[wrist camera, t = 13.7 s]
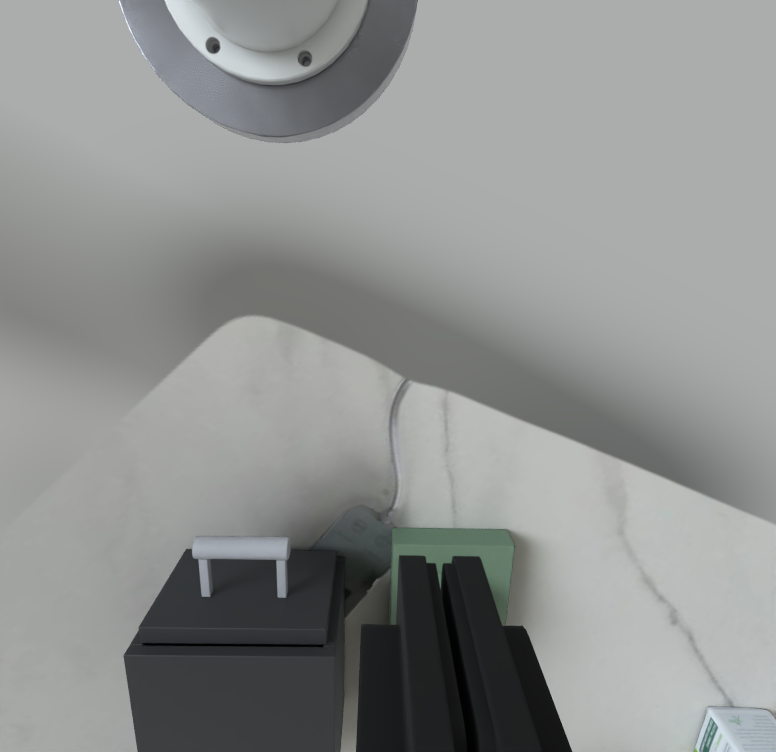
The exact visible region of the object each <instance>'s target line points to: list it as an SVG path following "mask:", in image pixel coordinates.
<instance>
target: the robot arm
mask: <svg viewBox="0 0 776 752" xmlns="http://www.w3.org/2000/svg"><path fill="white" fill-rule="evenodd" d="M368 1H369V0H165V2H166V5H167V8H168V10H169V11H170V13H171V15H172V17H173V18H174V20H175V22H176V24H177V25H178V27H179V29H180V30H181V31H182V33H183V34H184V35H185V36H186V37H187V39H188V40H189V41H190V42H191V44H192V45H193V46H194V47H195V48H196V49H197V50H198V51H199V52H200V53H201V54H202V55H203V56H204V57H205V58H206V59H207V60H209V61H210V62H211V63H213V64H214V65H216V66H217V67H218V68H220V69H221V70H223V71H224V72H226V73H228V74H230V75H232V76H235V77H237V78H239V79H241V80H244V81H248V82H252V83H256V84H260V85H285V84H291V83H296V82H300V81H303V80H305V79H307V78H310V77H312V76H314V75H317V74H318V73H320V72H321V71H322V70H324V69H325V68H327V67H328V66H330V65H331V64H332V63H334V62H335V60H336V59H337V58H338V57H339V56H340V55H341V54H342V53H343V52H344V51H345V50H346V49H347V47H348V46H349V44H350V43H351V41H352V40H353V38H354V36H355V35H356V33H357V32H358V30H359V27H360V25H361V22H362V20H363V17H364V15H365V12H366V10H367V5H368ZM218 46H219V47H220V51H219V52H218V53H216V54H215V53H214V48H215V47H218ZM305 59H309V60H310V61H311V63H310V65H309V66H304V65H303V61H304V60H305ZM356 752H572V750H571V747H570V745H569V742H568V739H567V737H566V734H565V731H564V729H563V726H562V723H561V721H560V718H559V715H558V713H557V710H556V707H555V705H554V702H553V699H552V697H551V694H550V691H549V689H548V686H547V683H546V681H545V678H544V675H543V673H542V670H541V667H540V665H539V662H538V659H537V657H536V654H535V652H534V649H533V646H532V644H531V641H530V638H529V636H528V634H527V631H526V629H525V628H524V627H523V626H502V623H501V620H500V617H499V614H498V611H497V607H496V604H495V601H494V598H493V595H492V592H491V589H490V585H489V582H488V579H487V576H486V573H485V570H484V567H483V563H482V560H481V558H480V557H479V556H453V557H452V562H451V563H443V566H442V577H441V589H440V584H439V578H438V572H437V567H436V563H427V562H426V557H425V556H419V555H399V563H398V586H397V610H396V625H369V624H362V625H361V647H360V671H359V695H358V720H357V744H356Z"/></svg>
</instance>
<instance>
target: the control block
mask: <svg viewBox="0 0 776 752" xmlns="http://www.w3.org/2000/svg"><path fill="white" fill-rule="evenodd" d="M514 547H515V546H514V544H513V542H512V539H511V537H510V535H509V533H508V530H507V529H443V528H392V552H391V578H390V605H389V625H396V610H397V586H398V563H399V555H419V556H425V557H426V562H427V563H436V567H437V572H438V578H439V584H440V589H441V577H442V566H443V563H451V562H452V557H453V556H479V557H480V558H481V560H482V563H483V567H484V570H485V573H486V576H487V579H488V582H489V585H490V589H491V592H492V595H493V598H494V601H495V604H496V607H497V611H498V614H499V617H500V620H501V623H502V626H505V624H506V615H507V607H508V598H509V590H510V581H511V573H512V564H513V555H514Z"/></svg>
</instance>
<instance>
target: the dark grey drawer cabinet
mask: <svg viewBox="0 0 776 752" xmlns="http://www.w3.org/2000/svg"><path fill="white" fill-rule="evenodd" d="M344 642H345V557H337V565H336V573H335V581H334V589H333V597H332V605H331V613H330V621H329V629H328V637H327V644H326V645H323V647H256V646H162V645H163V643H141V642H140V635H139V631H138V632H137V634H136V636H135V637H134V639H133V641H132V642H131V644H130V646H129V648H128V649H127V651H126V653H125V654H124V661H125V668H126V675H127V682H128V689H129V695H130V702H131V709H132V716H133V723H134V729H135V736H136V743H137V750H138V752H340V751H341V737H342V723H343V708H344Z"/></svg>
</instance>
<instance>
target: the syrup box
mask: <svg viewBox="0 0 776 752" xmlns="http://www.w3.org/2000/svg"><path fill="white" fill-rule="evenodd" d="M706 713H707V715H706V718H705V721H704V723H703V726H702V728H701V731H700V735H699V738H698V741H697V744H696V747H695V749H694V752H776V719H775V718H774V717H773V715H772V714H771V713H770V712H769V711H768V710H765V709H754V708H738V707H737V708H733V707H708V708H707V711H706Z"/></svg>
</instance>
